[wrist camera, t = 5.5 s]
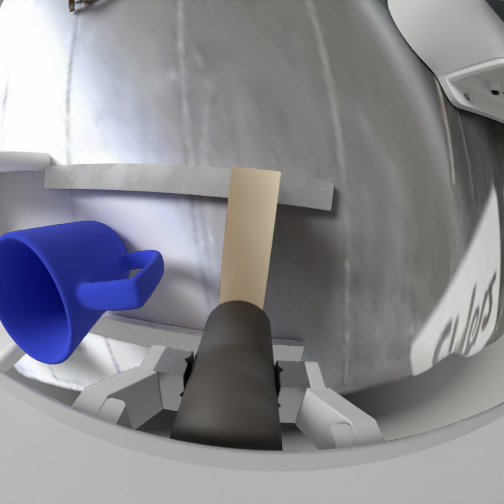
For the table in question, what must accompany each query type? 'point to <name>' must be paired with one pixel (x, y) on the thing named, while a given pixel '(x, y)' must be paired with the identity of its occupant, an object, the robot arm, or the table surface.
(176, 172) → the rails
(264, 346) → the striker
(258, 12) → the table surface
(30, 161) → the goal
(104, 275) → the mug
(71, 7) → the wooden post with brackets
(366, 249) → the table surface
